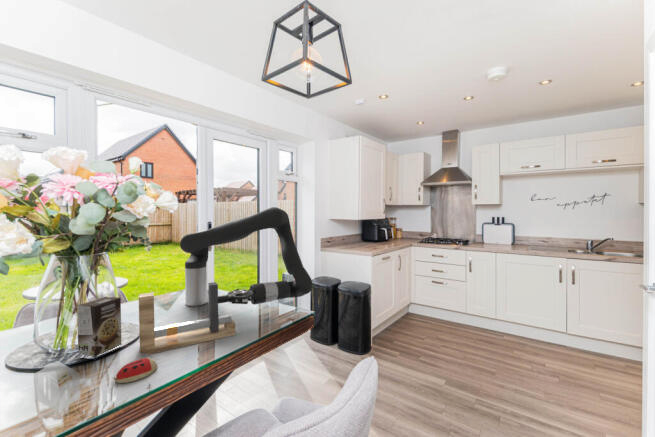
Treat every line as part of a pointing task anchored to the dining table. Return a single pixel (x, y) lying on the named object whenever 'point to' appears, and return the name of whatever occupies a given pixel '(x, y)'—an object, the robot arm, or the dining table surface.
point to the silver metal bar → (189, 326)
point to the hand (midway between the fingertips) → (216, 300)
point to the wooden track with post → (173, 341)
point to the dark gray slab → (213, 306)
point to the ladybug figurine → (136, 370)
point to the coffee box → (99, 326)
